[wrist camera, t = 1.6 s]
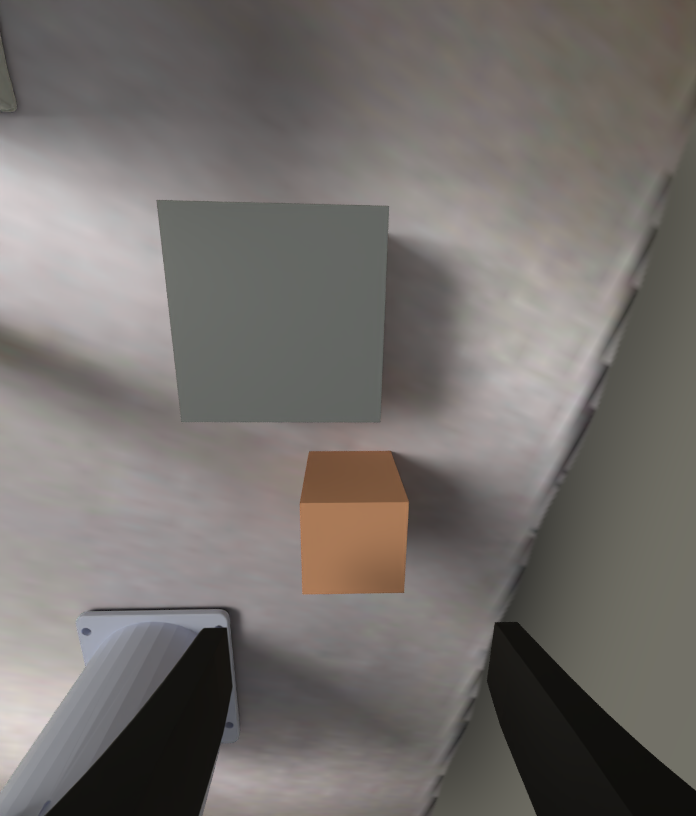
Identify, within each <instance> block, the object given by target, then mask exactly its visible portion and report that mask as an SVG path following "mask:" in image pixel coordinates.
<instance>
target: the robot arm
mask: <svg viewBox="0 0 696 816" xmlns="http://www.w3.org/2000/svg"><path fill="white" fill-rule="evenodd" d="M218 625H219V626H222V627H219V626H218ZM76 627H77V632H78V636H79V640H80V645H81V649H82V653H83V658H84V662H85V668H84V670H83V671H82V673H81V674H80V676H79V677H78V679H77V680H76V682H75V683H74V684H73V686H72V687H71V689H70V690H69V692H68V693H67V695H66V696H65V698H64V699H63V701H62V702H61V704H60V705H59V707H58V708H57V709H56V711H55V712H54V714H53V715H52V717H51V718H50V720H49V721H48V723H47V724H46V726H45V727H44V729H43V730H42V732H41V733H40V734H39V736H38V737H37V739H36V740H35V742H34V743H33V745H32V746H31V748H30V749H29V751H28V752H27V754H26V755H25V757H24V758H23V759H22V761H21V762H20V764H19V765H18V767H17V768H16V770H15V771H14V773H13V774H12V776H11V777H10V779H9V780H8V782H7V783H6V784H5V786H4V787H3V789H2V790H1V792H0V816H202V815H203V812H204V808H205V804H206V800H207V796H208V792H209V788H210V784H211V781H212V777H213V773H214V769H215V765H216V761H217V757H218V753H219V750H220V746H221V743H234V742H236V741H237V740H238V739H239V735H240V724H239V713H238V703H237V692H236V681H235V671H234V660H233V650H232V639H231V628H230V618H229V614H228V613H227V612H226V611H225V610H222V609H198V610H141V611H87V612H83V613H81V614H80V616H79V617H78V618H77V620H76ZM88 628H89V629H88ZM487 683H488V686H489V690H490V693H491V697H492V700H493V703H494V707H495V710H496V713H497V716H498V720H499V723H500V726H501V728H502V731H503V734H504V736H505V739H506V741H507V744H508V746H509V749H510V751H511V754H512V756H513V758H514V761H515V763H516V766H517V768H518V771H519V773H520V776H521V778H522V781H523V782H524V785H525V788H526V790H527V793H528V795H529V798H530V800H531V802H532V805H533V807H534V810H535V812H536V815H537V816H696V791H695V790H694V789H693V788H692V787H691V786H689V785H688V784H687V783H686V782H684V781H683V780H682V779H681V778H680V777H679V776H677V775H676V774H675V773H674V772H673V771H671V770H670V769H669V768H668V767H667V766H665V765H664V764H663V763H662V762H661V761H659V760H658V759H657V758H656V757H655V756H654V755H653V754H651V753H650V752H649V751H648V750H647V749H646V748H645V747H643V746H642V745H641V744H640V743H639V742H638V741H637V740H635V738H633V737H632V736H631V735H630V734H629V733H628V732H627V731H626V730H625V729H624V728H623V727H621V726H620V725H619V724H618V723H617V722H616V721H615V720H614V719H613V718H612V717H611V716H609V715H608V714H607V713H606V712H605V711H604V710H603V709H602V708H601V707H600V706H599V705H598V704H597V703H596V702H595V701H594V700H593V699H592V698H591V697H590V696H589V695H588V694H587V693H586V692H585V691H584V690H583V689H582V688H581V687H580V686H579V685H578V684H577V683H576V682H575V681H574V680H573V679H571V677H570V676H569V675H568V674H567V673H566V672H565V671H564V670H563V669H562V668H561V667H560V666H559V665H558V664H557V663H556V662H555V661H554V660H553V659H552V658H551V657H550V656H549V655H548V654H547V652H545V651H544V649H543V648H542V647H541V646H540V645H539V644H538V643H537V642H536V641H535V640H534V639H533V638H532V637H531V636H530V635H529V634H528V633H527V632H526V631H525V630H524V629H523V628H522V627H521V626H520V624H519V623H518V622H495V625H494V633H493V640H492V647H491V655H490V662H489V670H488V677H487Z"/></svg>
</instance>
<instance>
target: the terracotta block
mask: <svg viewBox="0 0 696 816" xmlns="http://www.w3.org/2000/svg"><path fill="white" fill-rule="evenodd" d="M408 510H409V501H408V498H407V495H406V493H405V490H404V487H403V484H402V481H401V479H400V476H399V473H398V470H397V467H396V465H395V462H394V459H393V456H392V453H391V451H309V455H308V460H307V466H306V472H305V477H304V483H303V488H302V494H301V499H300V526H301V559H302V592H303V594H353V593H404V582H405V564H406V546H407V528H408Z"/></svg>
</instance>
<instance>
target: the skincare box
mask: <svg viewBox="0 0 696 816" xmlns="http://www.w3.org/2000/svg"><path fill="white" fill-rule="evenodd" d="M16 109H17V103H16V99H15V95H14V92H13V87H12V82H11V80H10V77H9V74H8V69H7V65H6V59H5V54H4V49H3V44H2V39H1V34H0V111H3V112H14V111H16Z"/></svg>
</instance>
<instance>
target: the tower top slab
mask: <svg viewBox="0 0 696 816" xmlns="http://www.w3.org/2000/svg"><path fill="white" fill-rule="evenodd" d="M157 208H158V217H159V226H160V235H161V244H162V253H163V262H164V271H165V280H166V289H167V298H168V307H169V316H170V325H171V334H172V343H173V352H174V361H175V369H176V378H177V387H178V396H179V405H180V414H181V422H380V418H381V393H382V368H383V343H384V319H385V294H386V269H387V244H388V219H389V206H370V205H331V204H291V203H252V202H212V201H173V200H157Z"/></svg>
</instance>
